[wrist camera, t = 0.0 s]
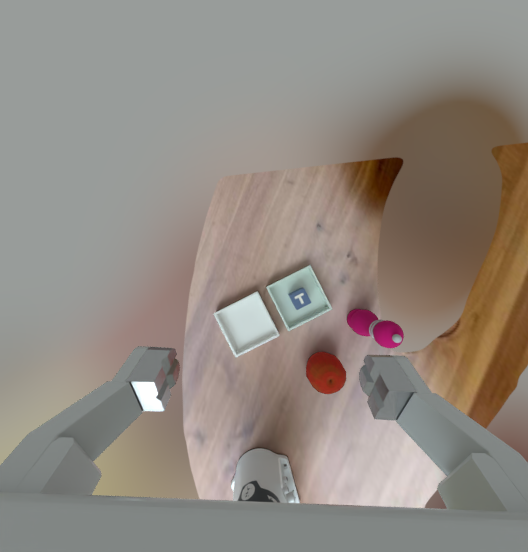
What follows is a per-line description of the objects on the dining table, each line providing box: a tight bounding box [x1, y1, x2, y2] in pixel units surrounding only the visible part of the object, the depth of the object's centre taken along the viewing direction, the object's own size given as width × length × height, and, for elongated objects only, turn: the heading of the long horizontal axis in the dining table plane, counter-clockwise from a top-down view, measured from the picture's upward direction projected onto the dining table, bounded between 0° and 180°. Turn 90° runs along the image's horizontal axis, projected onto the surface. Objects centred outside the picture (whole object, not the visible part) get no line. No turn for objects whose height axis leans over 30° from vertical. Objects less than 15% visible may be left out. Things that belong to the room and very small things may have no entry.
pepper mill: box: [347, 309, 403, 348], centre depth 53 cm, size 7×7×20 cm
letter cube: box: [288, 287, 311, 310], centre depth 60 cm, size 4×4×5 cm
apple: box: [306, 352, 346, 394], centre depth 58 cm, size 10×10×12 cm
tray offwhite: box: [214, 291, 280, 358], centre depth 62 cm, size 14×14×3 cm
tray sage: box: [266, 265, 332, 331], centre depth 62 cm, size 14×14×3 cm
